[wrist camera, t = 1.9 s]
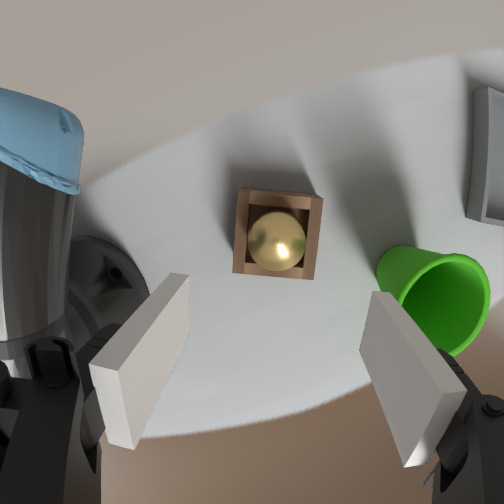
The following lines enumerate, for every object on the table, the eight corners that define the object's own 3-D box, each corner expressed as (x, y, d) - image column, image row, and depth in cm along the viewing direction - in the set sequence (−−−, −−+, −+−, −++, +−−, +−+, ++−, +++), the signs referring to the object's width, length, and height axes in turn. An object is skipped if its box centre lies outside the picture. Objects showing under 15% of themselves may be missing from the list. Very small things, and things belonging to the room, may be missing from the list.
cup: (392, 207, 30) (445, 229, 19) (449, 258, 30) (507, 295, 20) (339, 280, 32) (367, 332, 21) (400, 323, 33) (439, 380, 22)
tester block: (237, 259, 32) (232, 272, 28) (242, 188, 30) (237, 191, 26) (308, 266, 32) (313, 279, 28) (317, 194, 30) (323, 198, 26)
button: (248, 258, 28) (246, 268, 25) (252, 207, 27) (250, 211, 24) (299, 262, 28) (302, 273, 25) (305, 212, 27) (309, 217, 24)
